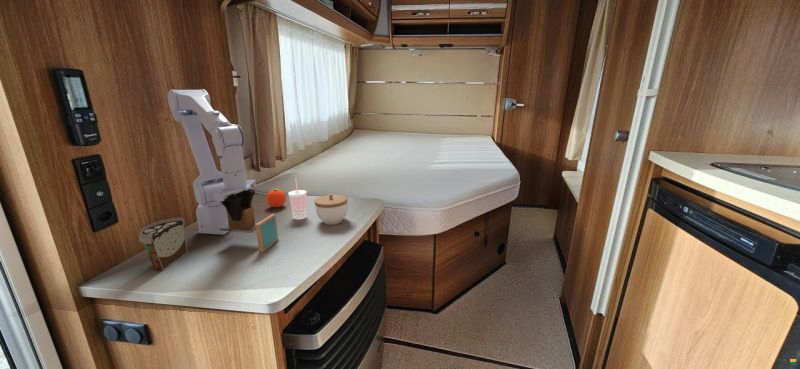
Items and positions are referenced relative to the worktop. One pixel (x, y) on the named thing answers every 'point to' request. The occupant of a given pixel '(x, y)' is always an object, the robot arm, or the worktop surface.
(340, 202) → the lidded jar
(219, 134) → the robot arm
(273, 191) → the clementine
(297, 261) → the worktop surface
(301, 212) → the beverage cup
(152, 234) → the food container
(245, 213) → the tan block on plate
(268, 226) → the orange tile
